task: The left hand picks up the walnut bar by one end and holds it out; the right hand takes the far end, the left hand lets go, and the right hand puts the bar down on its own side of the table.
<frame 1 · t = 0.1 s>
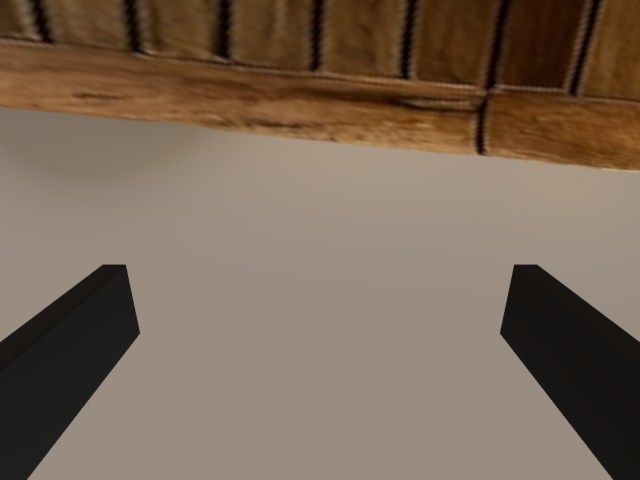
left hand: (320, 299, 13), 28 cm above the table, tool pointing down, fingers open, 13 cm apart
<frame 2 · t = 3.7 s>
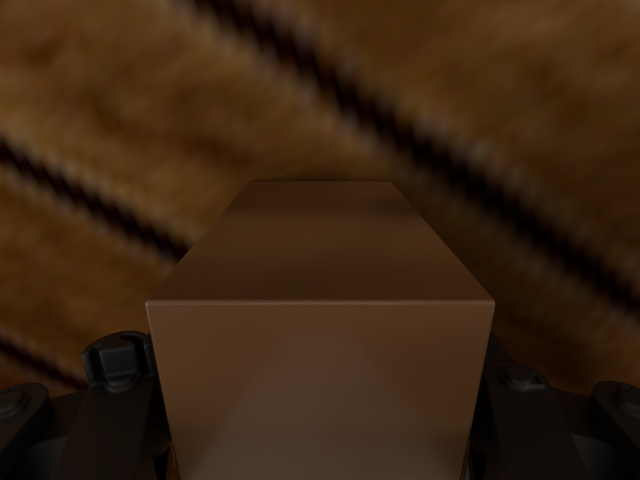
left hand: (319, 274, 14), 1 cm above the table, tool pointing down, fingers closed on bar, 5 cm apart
bar: (320, 423, 18), on the table, touching left hand
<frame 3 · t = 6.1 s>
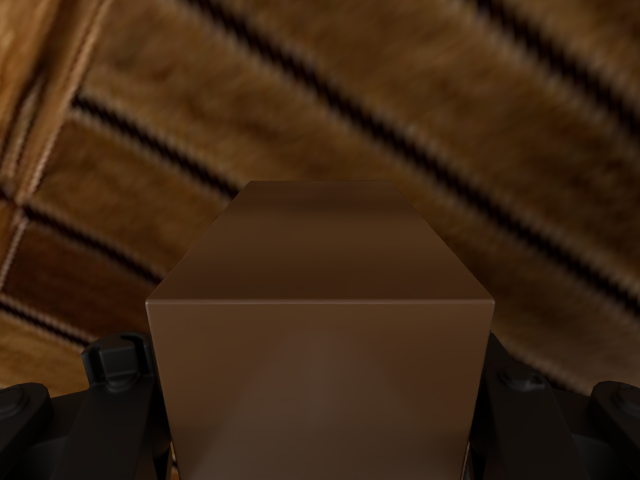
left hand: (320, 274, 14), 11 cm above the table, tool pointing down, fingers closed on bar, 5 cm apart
bar: (320, 422, 18), point 10 cm above the table, touching left hand
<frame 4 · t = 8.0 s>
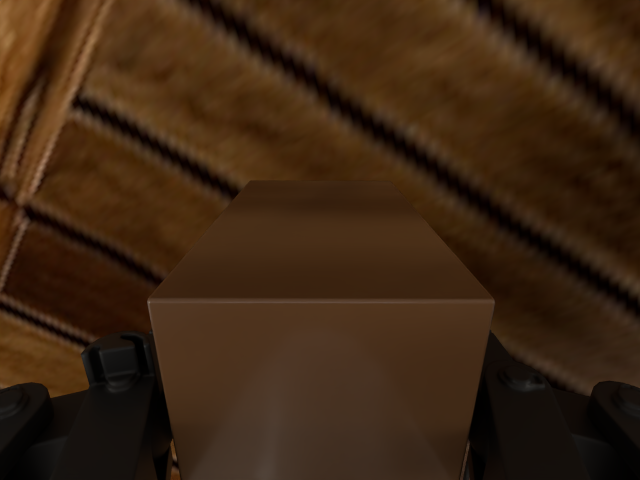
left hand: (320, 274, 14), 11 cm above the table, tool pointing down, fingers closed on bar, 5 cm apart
bar: (319, 422, 18), point 10 cm above the table, touching left hand, right hand
when the left hand's fingers open (11 cm above the table, at t = 8.8 s): bar stays where it is, held by the right hand.
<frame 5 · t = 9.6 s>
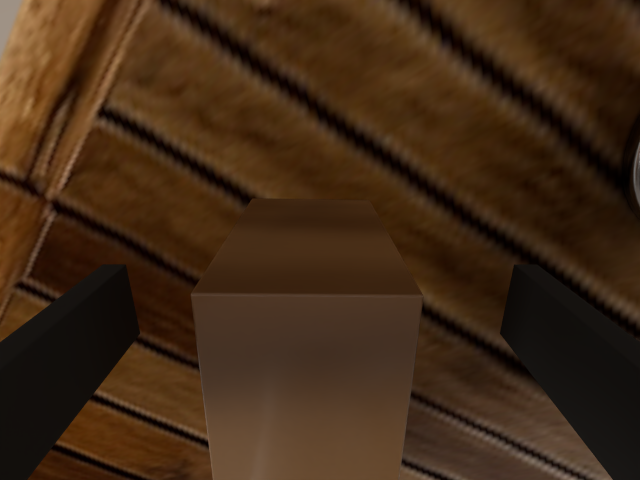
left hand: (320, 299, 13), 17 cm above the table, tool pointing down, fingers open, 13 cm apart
bar: (309, 405, 21), point 12 cm above the table, touching right hand
when the right hand's fingers open (4 cm above the table, at t = 13.1 s): bar stays where it is, on the table.
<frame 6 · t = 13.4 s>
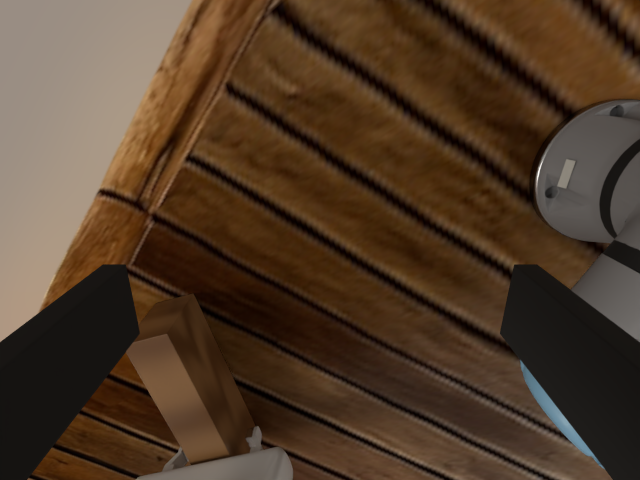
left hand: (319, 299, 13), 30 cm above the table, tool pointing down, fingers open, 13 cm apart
bar: (210, 370, 51), on the table
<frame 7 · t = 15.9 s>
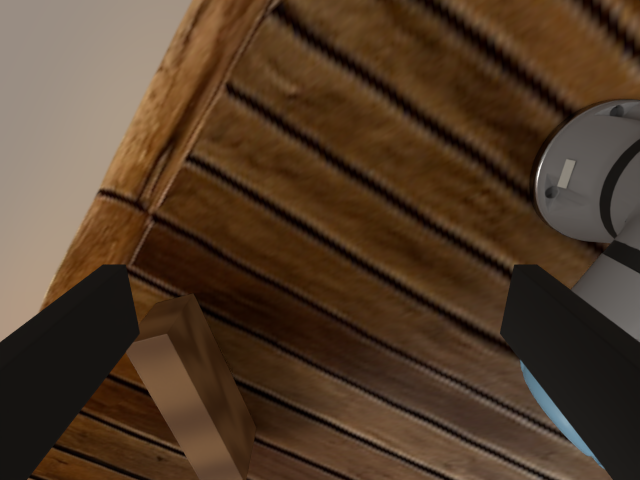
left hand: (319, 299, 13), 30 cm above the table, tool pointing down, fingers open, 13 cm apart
bar: (210, 370, 51), on the table
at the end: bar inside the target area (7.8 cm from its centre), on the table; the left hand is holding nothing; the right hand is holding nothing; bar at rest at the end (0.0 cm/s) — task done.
